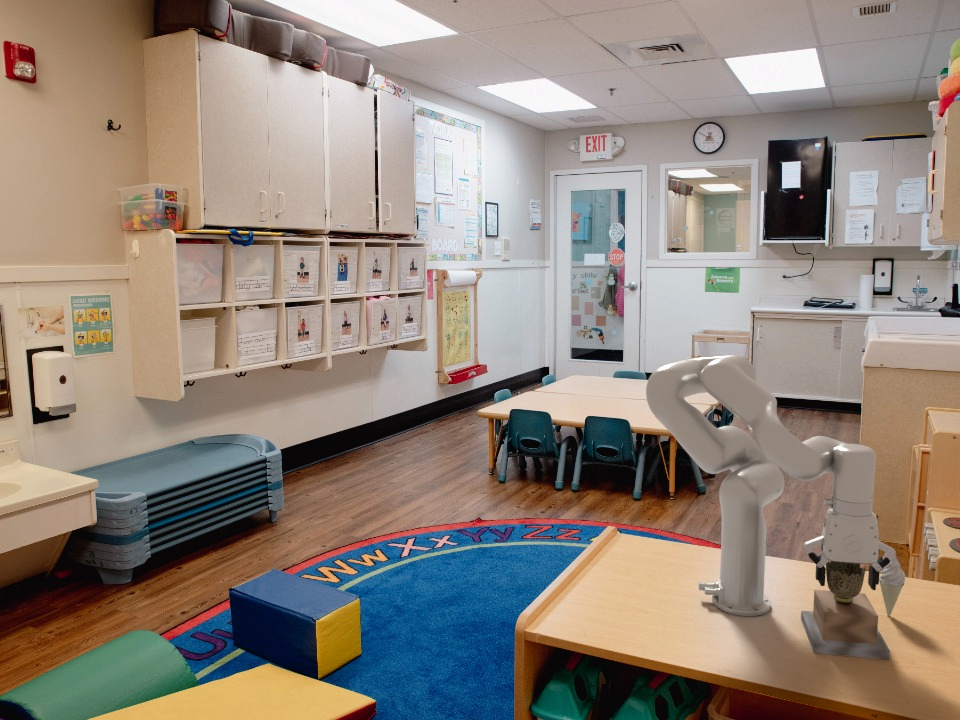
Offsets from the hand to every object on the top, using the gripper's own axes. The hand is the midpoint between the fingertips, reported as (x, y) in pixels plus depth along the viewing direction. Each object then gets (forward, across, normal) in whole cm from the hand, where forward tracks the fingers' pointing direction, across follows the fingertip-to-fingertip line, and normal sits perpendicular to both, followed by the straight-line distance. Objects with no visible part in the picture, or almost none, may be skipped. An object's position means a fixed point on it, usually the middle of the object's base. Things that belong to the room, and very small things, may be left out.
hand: (846, 585), depth 160 cm
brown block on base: (+12, 0, 0) cm, 12 cm away
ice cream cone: (+12, +12, +12) cm, 21 cm away
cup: (+4, 0, 0) cm, 4 cm away
